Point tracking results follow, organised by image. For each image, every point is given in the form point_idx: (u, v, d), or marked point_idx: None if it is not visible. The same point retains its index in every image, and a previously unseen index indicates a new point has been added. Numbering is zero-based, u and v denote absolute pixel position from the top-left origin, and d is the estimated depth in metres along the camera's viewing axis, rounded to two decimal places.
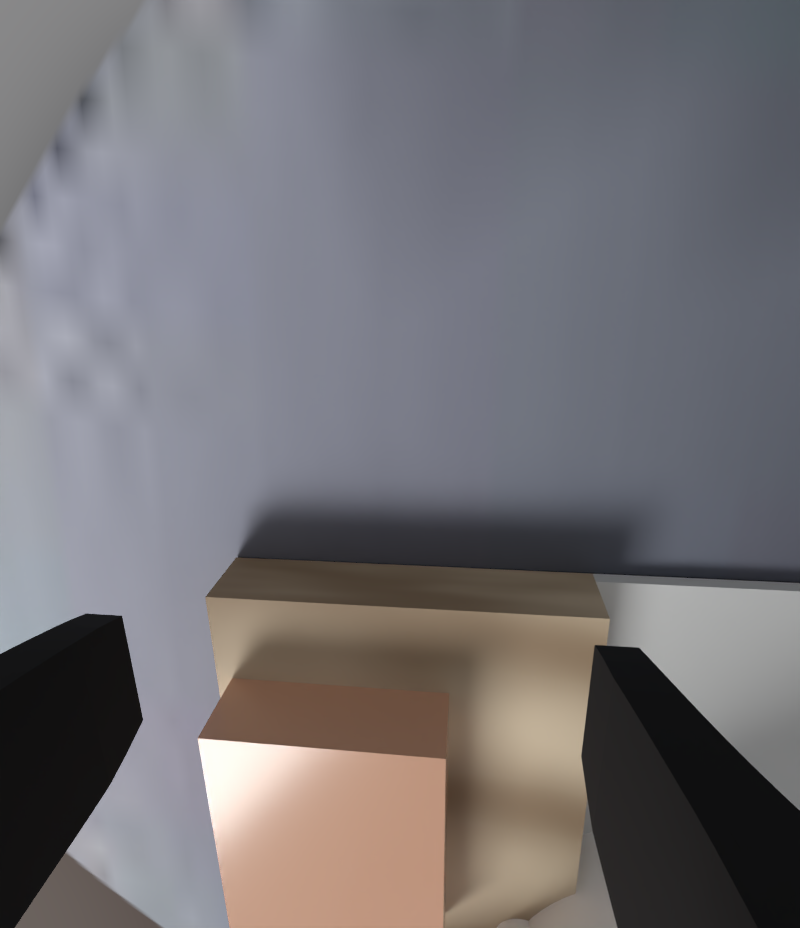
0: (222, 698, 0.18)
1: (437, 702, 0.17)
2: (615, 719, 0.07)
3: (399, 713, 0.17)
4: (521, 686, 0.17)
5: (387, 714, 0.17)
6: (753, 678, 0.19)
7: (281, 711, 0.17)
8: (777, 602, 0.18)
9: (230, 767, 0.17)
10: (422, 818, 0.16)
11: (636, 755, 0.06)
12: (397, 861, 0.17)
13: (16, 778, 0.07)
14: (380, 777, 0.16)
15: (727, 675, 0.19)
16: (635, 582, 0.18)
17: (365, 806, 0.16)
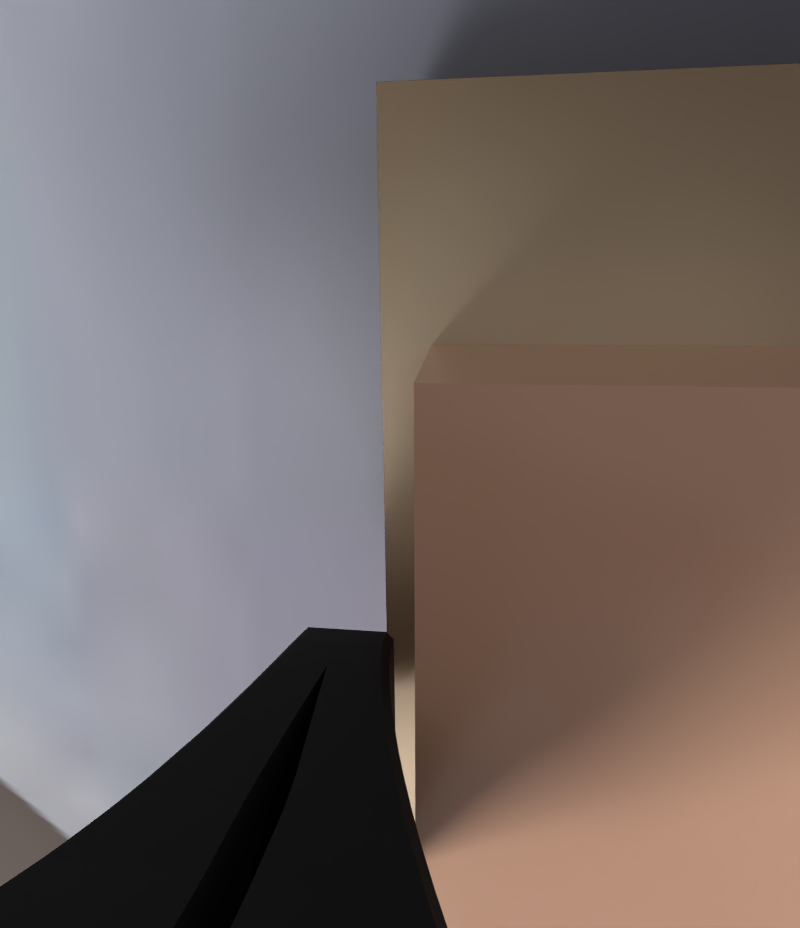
0: (432, 355, 0.07)
1: None
2: None
3: None
4: None
5: None
6: None
7: (614, 362, 0.06)
8: None
9: (505, 486, 0.05)
10: None
11: None
12: None
13: None
14: None
15: None
16: None
17: None
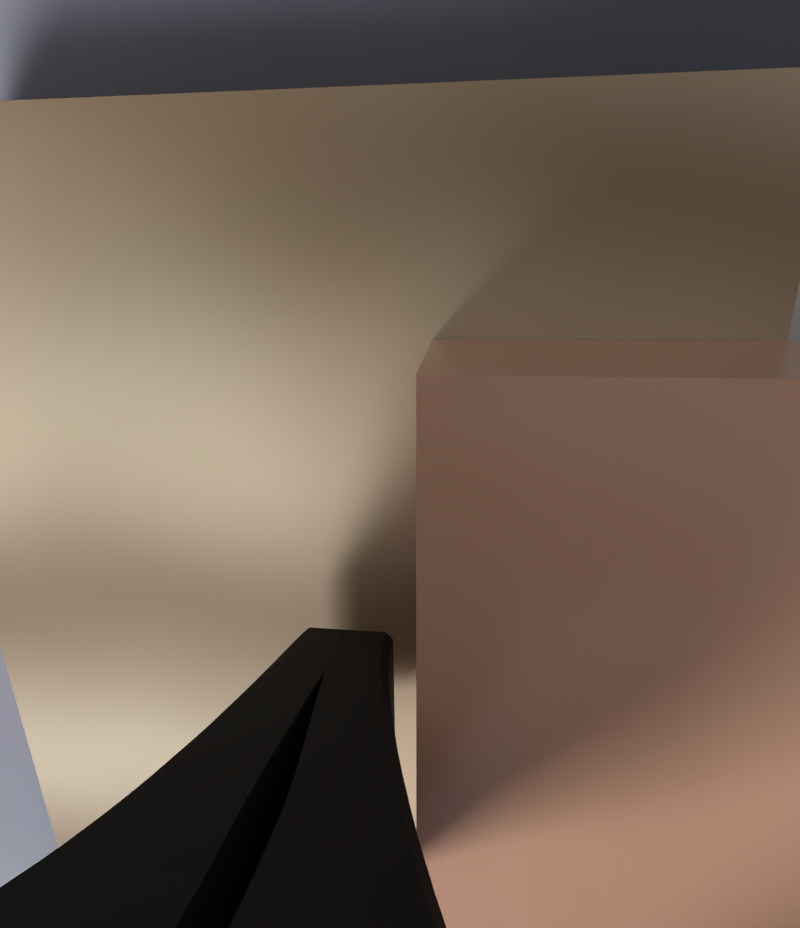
0: (433, 348, 0.07)
1: None
2: None
3: None
4: (595, 311, 0.07)
5: None
6: None
7: (616, 355, 0.06)
8: None
9: (507, 478, 0.05)
10: None
11: None
12: None
13: None
14: None
15: None
16: None
17: None
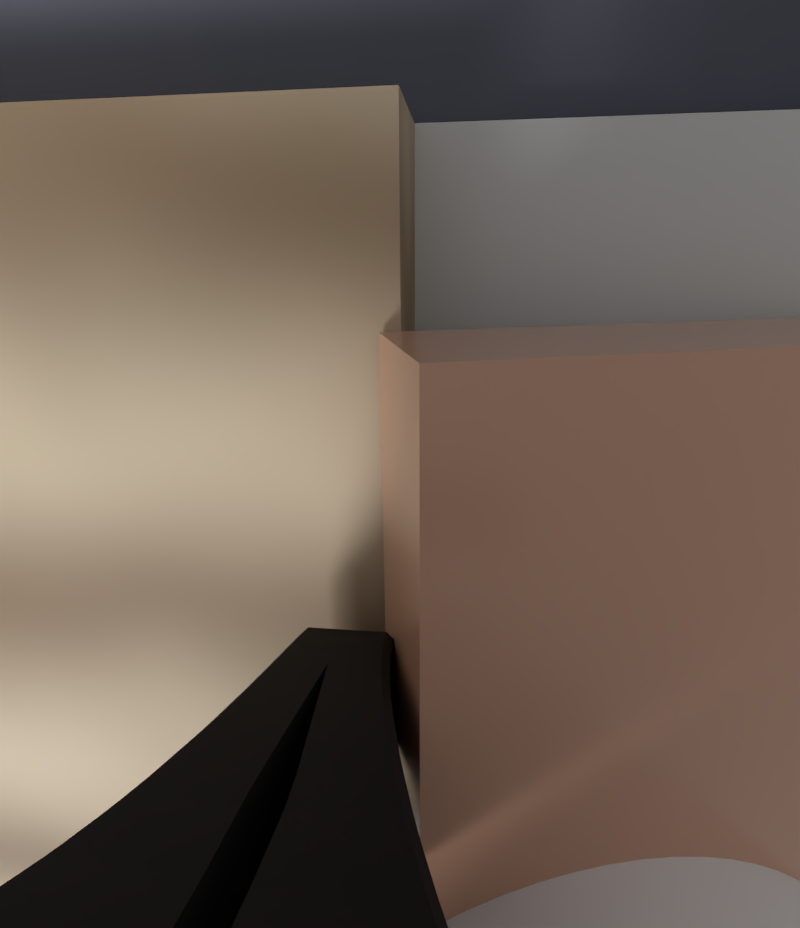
0: (396, 340, 0.07)
1: None
2: None
3: None
4: (229, 312, 0.08)
5: (789, 327, 0.07)
6: None
7: (567, 338, 0.07)
8: None
9: (505, 458, 0.06)
10: None
11: None
12: None
13: None
14: None
15: None
16: (497, 120, 0.08)
17: None
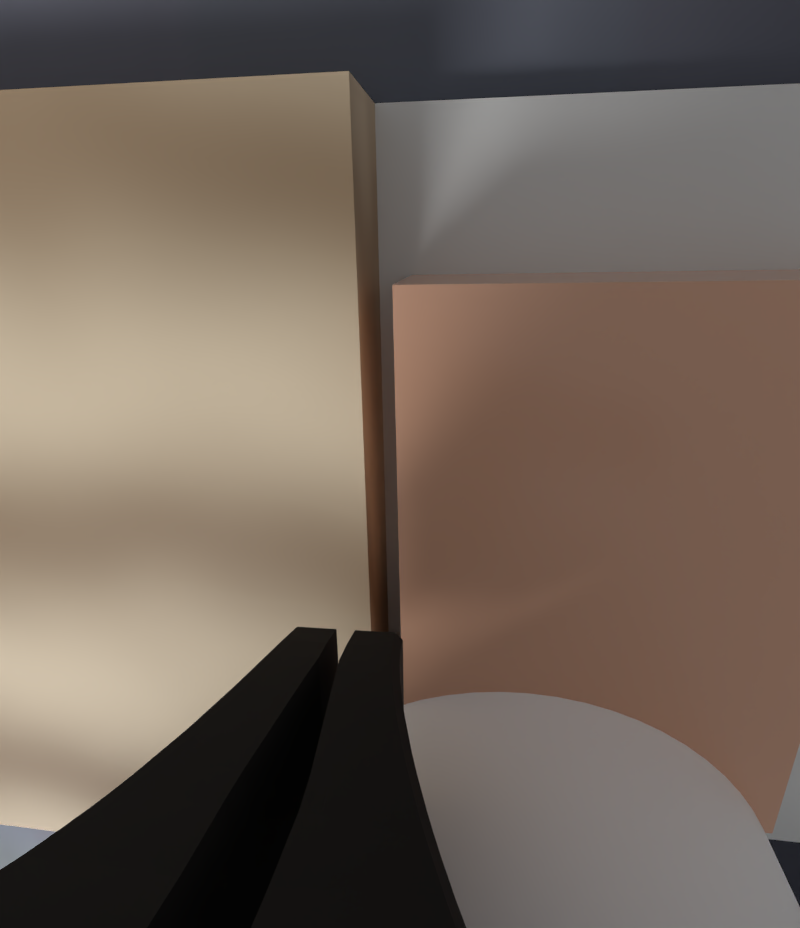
0: (410, 277, 0.10)
1: None
2: None
3: (765, 272, 0.09)
4: (210, 272, 0.09)
5: (743, 273, 0.09)
6: None
7: (532, 277, 0.09)
8: (718, 118, 0.09)
9: (452, 353, 0.08)
10: None
11: None
12: (758, 553, 0.09)
13: (286, 804, 0.07)
14: (772, 347, 0.08)
15: None
16: (448, 100, 0.09)
17: (721, 425, 0.08)
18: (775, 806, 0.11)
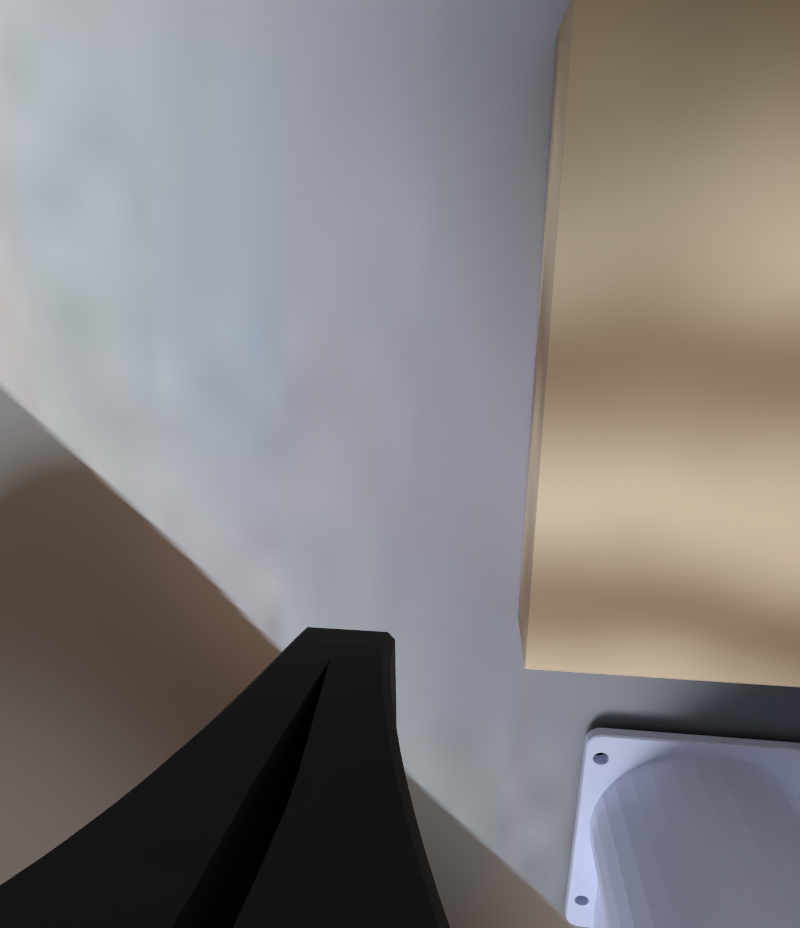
0: None
1: None
2: None
3: None
4: None
5: None
6: None
7: None
8: None
9: None
10: None
11: None
12: None
13: None
14: None
15: None
16: None
17: None
18: None
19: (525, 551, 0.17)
